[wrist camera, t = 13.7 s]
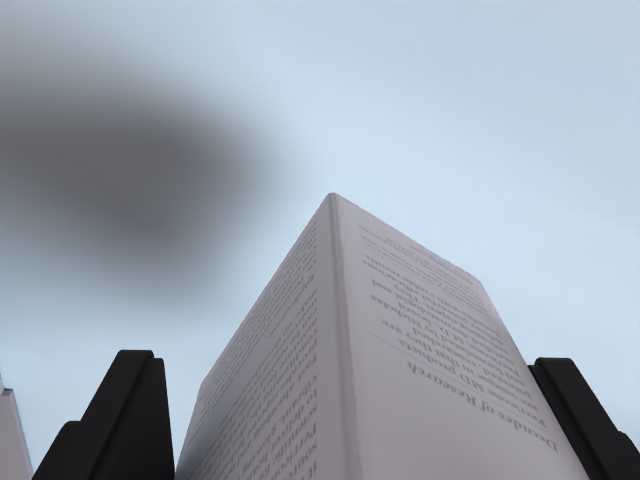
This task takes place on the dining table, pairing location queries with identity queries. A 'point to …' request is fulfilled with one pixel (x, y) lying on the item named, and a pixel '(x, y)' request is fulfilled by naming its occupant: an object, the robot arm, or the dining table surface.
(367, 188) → the dining table surface
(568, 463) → the skincare box
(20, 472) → the doorframe
